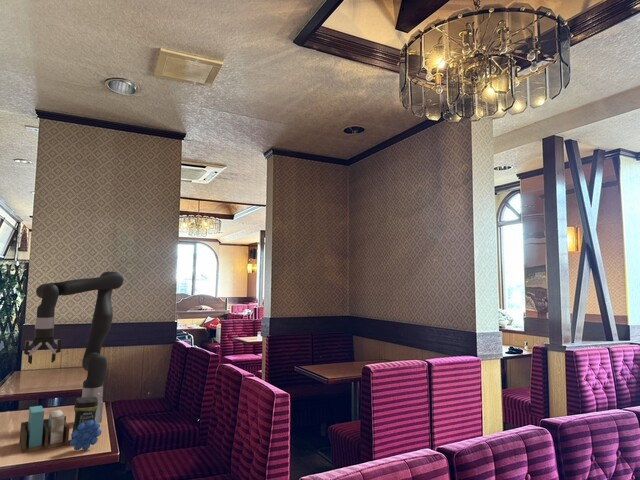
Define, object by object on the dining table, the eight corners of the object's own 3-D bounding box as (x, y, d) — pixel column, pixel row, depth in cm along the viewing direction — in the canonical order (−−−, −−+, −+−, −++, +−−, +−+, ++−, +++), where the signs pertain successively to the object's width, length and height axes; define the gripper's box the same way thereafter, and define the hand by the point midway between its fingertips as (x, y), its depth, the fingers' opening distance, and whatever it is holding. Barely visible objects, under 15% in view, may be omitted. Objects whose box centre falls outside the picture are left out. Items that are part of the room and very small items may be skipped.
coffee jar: (71, 445, 191) (74, 400, 193) (70, 439, 198) (74, 396, 200) (96, 441, 196) (99, 398, 198) (95, 436, 203) (98, 394, 205)
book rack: (64, 435, 202) (66, 408, 204) (69, 444, 191) (71, 416, 192) (19, 442, 192) (21, 414, 193) (21, 453, 181) (24, 422, 182)
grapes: (99, 444, 193) (101, 415, 194) (100, 449, 187) (102, 420, 188) (68, 448, 187) (71, 419, 188) (69, 454, 181) (71, 423, 182)
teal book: (38, 438, 195) (41, 405, 196) (41, 445, 187) (44, 411, 188) (26, 440, 192) (29, 407, 194) (28, 447, 184) (31, 412, 186)
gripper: (27, 328, 199) (23, 365, 197) (63, 327, 207) (60, 362, 206) (25, 327, 205) (22, 363, 203) (61, 325, 213) (58, 360, 212)
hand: (41, 362), depth 205 cm, fingers open, 8 cm apart
